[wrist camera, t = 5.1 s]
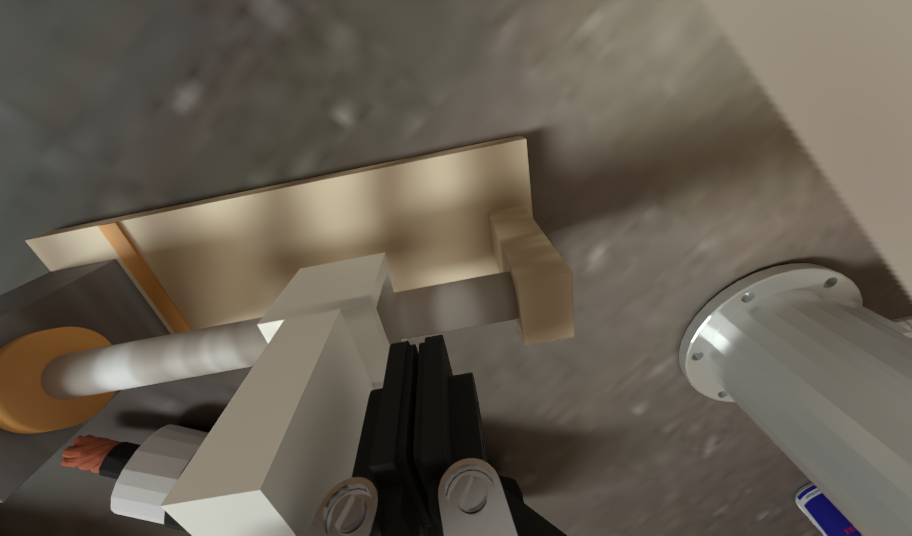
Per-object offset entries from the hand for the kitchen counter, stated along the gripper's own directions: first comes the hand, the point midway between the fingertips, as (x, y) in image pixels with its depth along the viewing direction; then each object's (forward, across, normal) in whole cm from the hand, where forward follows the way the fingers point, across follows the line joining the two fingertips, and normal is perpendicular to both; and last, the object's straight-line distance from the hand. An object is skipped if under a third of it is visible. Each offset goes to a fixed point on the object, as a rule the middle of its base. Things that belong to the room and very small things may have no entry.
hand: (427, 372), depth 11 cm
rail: (+12, +8, 0) cm, 14 cm away
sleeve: (+6, +4, 0) cm, 7 cm away
